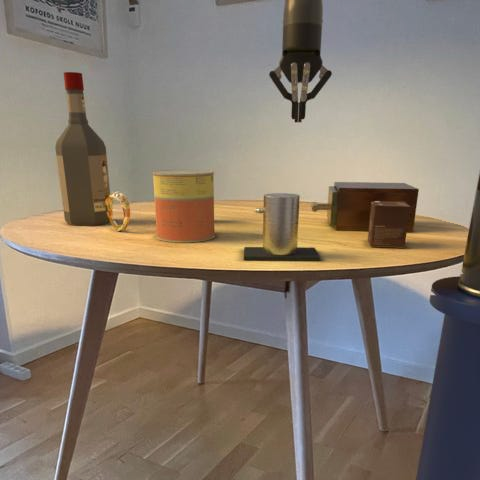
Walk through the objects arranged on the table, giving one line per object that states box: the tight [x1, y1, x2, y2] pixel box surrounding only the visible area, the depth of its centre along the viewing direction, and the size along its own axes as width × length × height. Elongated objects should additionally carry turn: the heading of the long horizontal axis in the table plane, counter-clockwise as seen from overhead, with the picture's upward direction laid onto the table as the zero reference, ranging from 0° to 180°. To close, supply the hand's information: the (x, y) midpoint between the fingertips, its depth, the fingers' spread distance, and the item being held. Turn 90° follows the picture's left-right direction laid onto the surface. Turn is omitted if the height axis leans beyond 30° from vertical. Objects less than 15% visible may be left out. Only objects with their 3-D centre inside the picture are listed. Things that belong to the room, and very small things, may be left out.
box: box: [367, 201, 410, 249], centre depth 83 cm, size 6×6×7 cm
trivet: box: [243, 246, 321, 262], centre depth 76 cm, size 12×7×1 cm, turn 89°
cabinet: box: [333, 181, 420, 233], centre depth 101 cm, size 16×14×9 cm
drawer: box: [310, 185, 338, 226], centre depth 102 cm, size 18×12×7 cm
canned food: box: [152, 169, 216, 244], centre depth 89 cm, size 11×11×12 cm
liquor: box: [54, 71, 111, 227], centre depth 100 cm, size 9×9×30 cm
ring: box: [105, 190, 131, 232], centre depth 94 cm, size 7×3×8 cm, turn 41°
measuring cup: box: [254, 192, 301, 256], centre depth 75 cm, size 7×6×9 cm
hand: (298, 122), depth 97 cm, fingers closed
